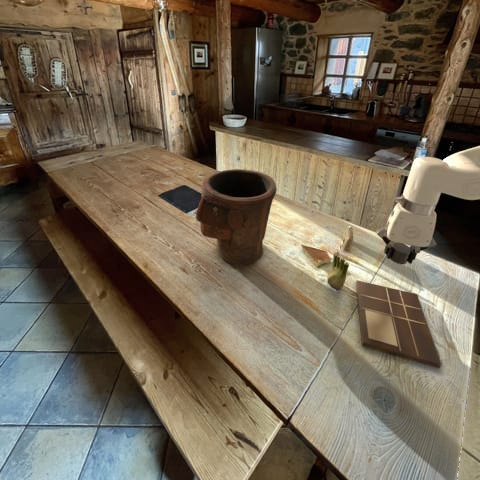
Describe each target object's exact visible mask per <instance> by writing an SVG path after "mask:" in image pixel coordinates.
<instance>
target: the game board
mask: <svg viewBox="0 0 480 480" xmlns="http://www.w3.org/2000/svg"><path fill="white" fill-rule="evenodd" d="M355 289H356V299H357V309H358V321H359V330H360V339H361V346H362V347H365V348H368V349H372V350H376V351H379V352H383V353H386V354H390V355H392V356H396V357H400V358H403V359H407V360H409V361H413V362H417V363H421V364H424V365H427V366H430V367H435V368H438V369H440V368H441V367H442V362H441V360H440V359H441V358H440V356H439V353H438V351H437V347H436V345H435V342H434V339H433V336H432V333H431V330H430V327H429V325H428V321H427V318H426V316H425V313H424V311H423V307H422V304H421V302H420V299H419V295H418V294H417V293H414V292H410V291H405V290H401V289H396V288H392V287H389V286H383V285H381V284H380V285H379V284H375V283H371V282H367V281H361V280H355Z"/></svg>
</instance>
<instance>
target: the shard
mask: <svg viewBox="0 0 480 480" xmlns="http://www.w3.org/2000/svg"><path fill="white" fill-rule="evenodd" d="M300 246H301V249H302V250H303V251H304V252H305V253H306V254H307V255H308V256H309V258H311V260H312V261H313V262H314V263H315V265H316V266H317V267H319V266H322V265H323V264H330V262H331V261H333V257H331V256H330V255H329V253H328V251H325V250H323V249H319V248H316V247H312V246H307V245H304V244H300Z"/></svg>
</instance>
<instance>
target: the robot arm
mask: <svg viewBox="0 0 480 480" xmlns="http://www.w3.org/2000/svg"><path fill="white" fill-rule="evenodd" d="M441 194H445V195H448V196H452V197H455V198H459V199H463V200H466V201H467V200H469V201H475V200H480V145H478V146H475V147H472V148H468V149H465V150H462V151H457V152H455V153H453V154H451V155H449V156H447V157H446V158H444V159H443V160H442V159H440V158H437V157H433V156H432V157H431V156H420V157H417V158H415V159H414V160H413V162H412V165H411V168H410V171H409V174H408V177H407V180H406V183H405V186H404V189H403V193H401V195H400V196H395V197H394V202H395V203H396V204H395V205H394V208H393V210H392V211H391V213H390V215H389V216H388V220H387V222H386V224H385V225H383V226H381V227H380V228H379V229H377V230H376V235H377V236H378V237H379V238H380V239H382V241H383V243H385V246H384V251H383V252H384V255H385V256H386V259H387V260H391V259H390V258H391V255H392V252H393V245H394V243H395V242H398V243H403V244H405V245H407V246H408V245H409V247H410V249H411V254H410V256H409V259H408V262H407V263H408V264H410V265H412V264H413V261H415V260H416V257H417V255H418V254H420V253H421V252H422V251H425V250H427V249H428V248H432V247H435V246H437V242H436V241H435V239H434V238H433V237H434V236H433V235H434V232H435V228H436V223H437V213H436V211H435V209H436V206H437V205H438V202H439V200H440V196H441Z"/></svg>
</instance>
